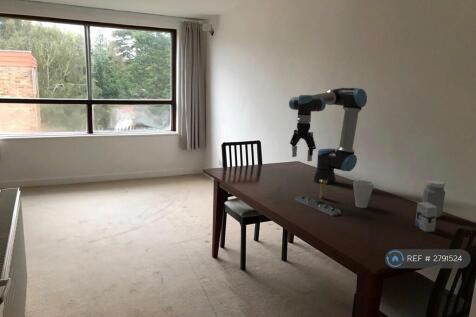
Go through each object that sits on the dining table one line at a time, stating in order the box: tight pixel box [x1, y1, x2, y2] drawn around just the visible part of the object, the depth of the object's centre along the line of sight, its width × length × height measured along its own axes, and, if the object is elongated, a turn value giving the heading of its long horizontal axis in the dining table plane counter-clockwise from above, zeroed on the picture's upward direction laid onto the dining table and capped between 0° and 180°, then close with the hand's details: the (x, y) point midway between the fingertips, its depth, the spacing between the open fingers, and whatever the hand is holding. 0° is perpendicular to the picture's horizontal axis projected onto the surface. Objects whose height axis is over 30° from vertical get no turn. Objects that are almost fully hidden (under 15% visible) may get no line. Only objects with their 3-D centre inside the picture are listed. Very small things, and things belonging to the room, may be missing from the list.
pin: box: [318, 179, 328, 200], centre depth 210 cm, size 5×5×11 cm
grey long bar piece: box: [294, 195, 342, 217], centre depth 195 cm, size 29×7×4 cm, turn 32°
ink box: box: [414, 201, 438, 233], centre depth 168 cm, size 8×5×12 cm, turn 5°
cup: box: [352, 180, 375, 209], centre depth 197 cm, size 10×10×14 cm
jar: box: [421, 179, 446, 219], centre depth 185 cm, size 10×10×18 cm
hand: (301, 158), depth 208 cm, fingers open, 13 cm apart
